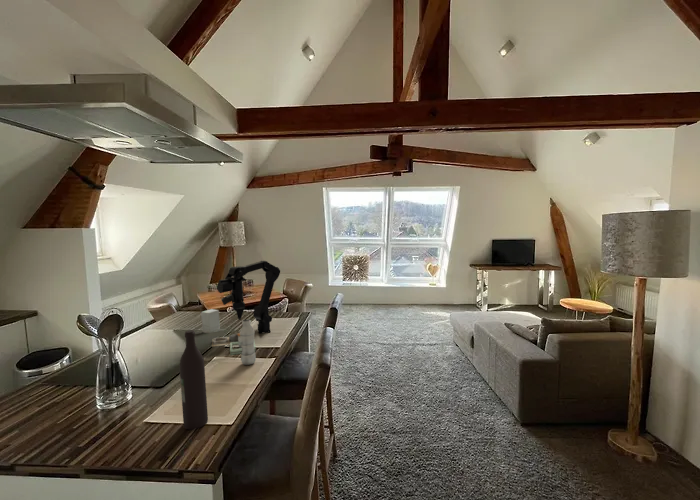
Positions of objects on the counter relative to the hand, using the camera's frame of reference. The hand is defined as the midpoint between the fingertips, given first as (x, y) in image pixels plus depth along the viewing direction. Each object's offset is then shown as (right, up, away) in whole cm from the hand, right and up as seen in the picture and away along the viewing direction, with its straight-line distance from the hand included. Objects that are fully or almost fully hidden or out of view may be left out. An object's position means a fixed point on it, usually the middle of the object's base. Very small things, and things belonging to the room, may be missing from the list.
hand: (239, 317), depth 188 cm
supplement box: (-22, -12, +17) cm, 31 cm away
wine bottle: (+12, -18, -80) cm, 83 cm away
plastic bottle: (+15, -15, -33) cm, 39 cm away
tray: (+7, -13, -15) cm, 21 cm away
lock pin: (+7, -13, -15) cm, 21 cm away
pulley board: (-3, -13, -5) cm, 14 cm away
